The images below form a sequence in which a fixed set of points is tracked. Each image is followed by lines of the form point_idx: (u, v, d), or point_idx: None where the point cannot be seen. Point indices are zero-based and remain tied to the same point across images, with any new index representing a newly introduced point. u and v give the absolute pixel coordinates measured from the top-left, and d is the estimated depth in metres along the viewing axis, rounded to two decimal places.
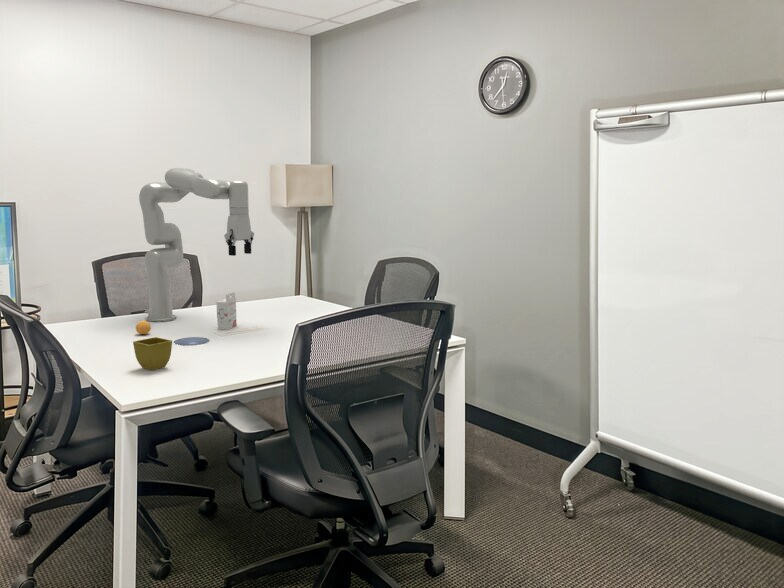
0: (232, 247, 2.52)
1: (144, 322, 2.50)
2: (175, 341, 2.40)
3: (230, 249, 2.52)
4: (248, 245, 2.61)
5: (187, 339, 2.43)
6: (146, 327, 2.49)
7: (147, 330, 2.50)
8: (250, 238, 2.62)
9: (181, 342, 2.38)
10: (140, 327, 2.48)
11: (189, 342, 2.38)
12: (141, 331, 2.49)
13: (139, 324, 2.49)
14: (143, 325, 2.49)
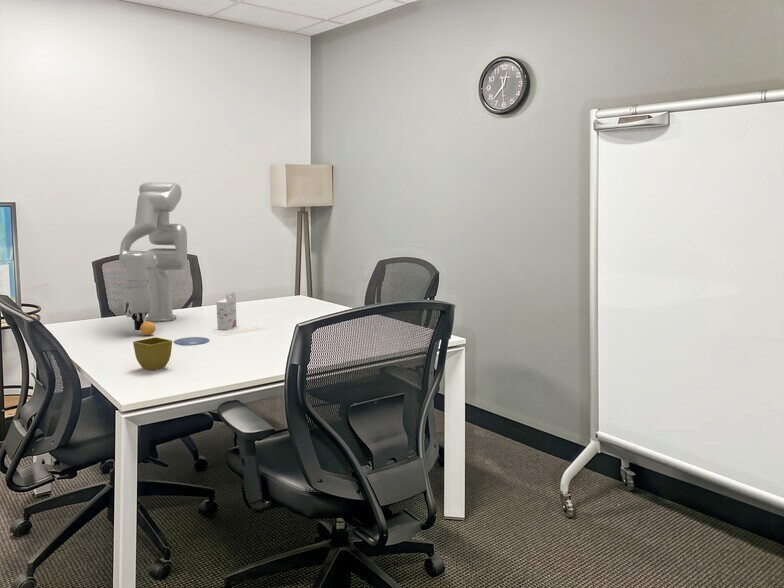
0: (137, 322, 2.50)
1: (151, 326, 2.48)
2: (175, 341, 2.40)
3: (135, 324, 2.50)
4: None
5: (187, 339, 2.43)
6: (151, 332, 2.49)
7: (150, 334, 2.49)
8: None
9: (181, 342, 2.38)
10: (145, 330, 2.47)
11: (189, 342, 2.38)
12: (144, 333, 2.48)
13: (145, 326, 2.47)
14: (148, 329, 2.48)
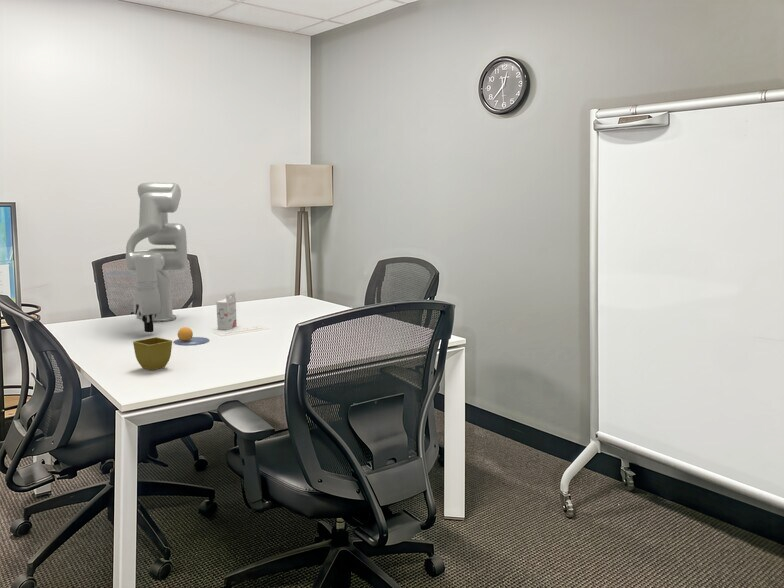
0: (147, 324, 2.48)
1: (188, 339, 2.39)
2: (175, 341, 2.40)
3: (145, 326, 2.48)
4: None
5: None
6: None
7: None
8: None
9: (181, 342, 2.38)
10: (181, 339, 2.38)
11: (189, 342, 2.38)
12: (178, 337, 2.39)
13: (184, 337, 2.38)
14: (184, 340, 2.39)
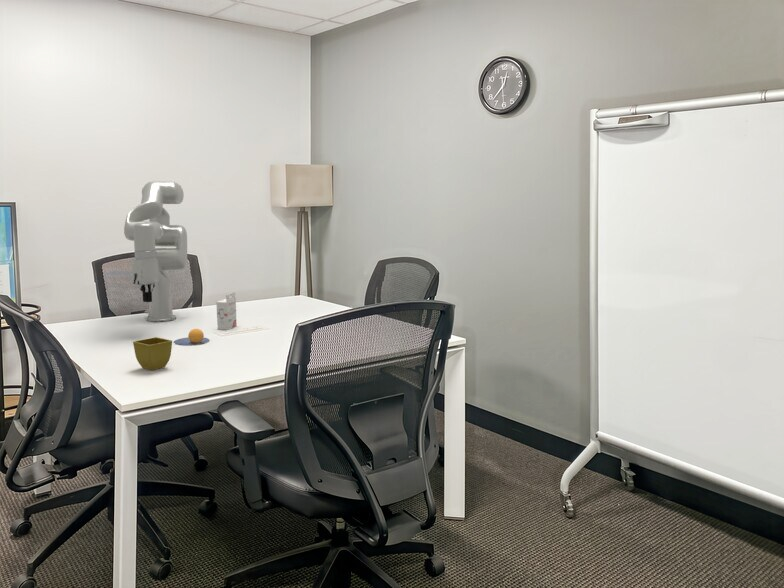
0: (146, 294, 2.46)
1: None
2: (175, 341, 2.40)
3: (144, 296, 2.47)
4: None
5: (187, 339, 2.43)
6: None
7: None
8: None
9: (181, 342, 2.38)
10: (188, 335, 2.36)
11: (189, 342, 2.38)
12: (190, 332, 2.36)
13: (189, 339, 2.37)
14: None
